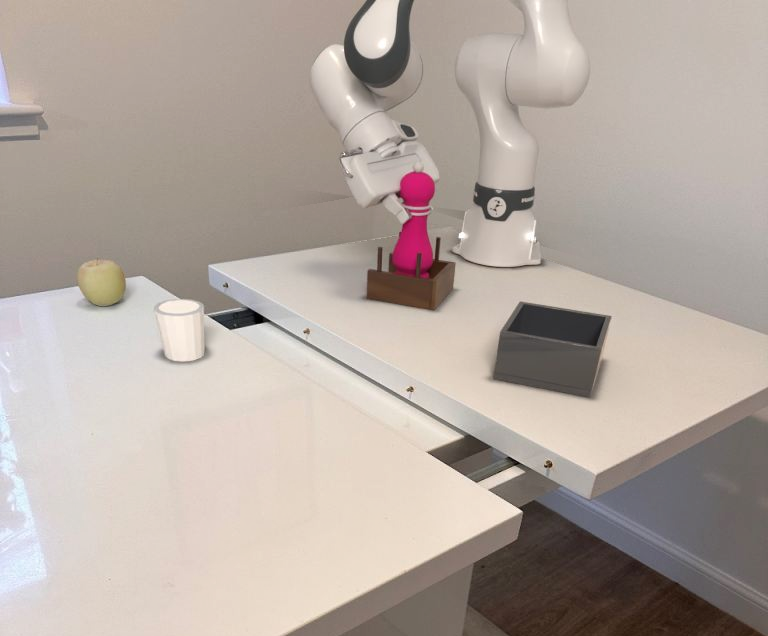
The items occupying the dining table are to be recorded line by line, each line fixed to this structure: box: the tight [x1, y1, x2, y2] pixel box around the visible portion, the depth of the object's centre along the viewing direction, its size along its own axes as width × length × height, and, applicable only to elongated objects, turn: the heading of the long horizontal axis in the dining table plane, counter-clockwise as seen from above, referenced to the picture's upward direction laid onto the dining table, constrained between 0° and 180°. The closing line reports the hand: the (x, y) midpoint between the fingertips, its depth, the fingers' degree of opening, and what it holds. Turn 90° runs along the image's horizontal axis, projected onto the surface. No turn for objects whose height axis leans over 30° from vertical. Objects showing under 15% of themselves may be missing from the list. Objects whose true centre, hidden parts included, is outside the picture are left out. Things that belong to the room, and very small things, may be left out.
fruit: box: [76, 254, 127, 307], centre depth 117 cm, size 8×7×8 cm
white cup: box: [153, 298, 206, 362], centre depth 102 cm, size 7×7×7 cm
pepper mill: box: [392, 161, 436, 278], centre depth 123 cm, size 7×7×20 cm
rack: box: [366, 231, 457, 311], centre depth 127 cm, size 12×12×9 cm
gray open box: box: [493, 301, 612, 398], centre depth 103 cm, size 14×14×7 cm
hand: (418, 217), depth 122 cm, fingers closed on pepper mill, 5 cm apart
